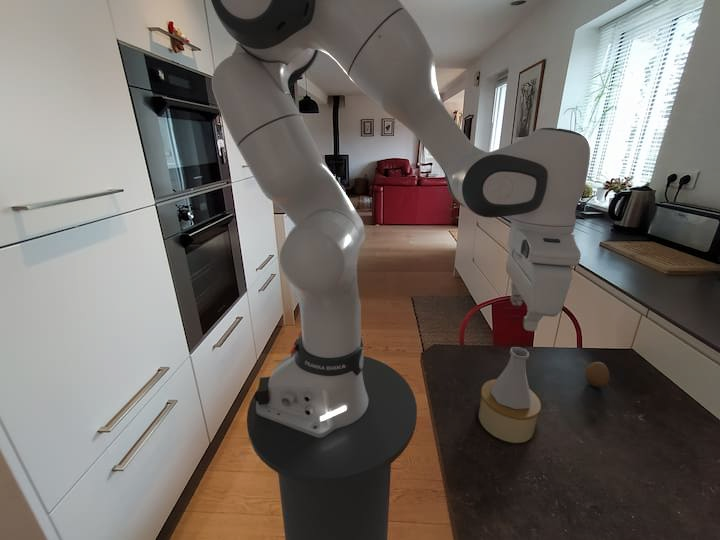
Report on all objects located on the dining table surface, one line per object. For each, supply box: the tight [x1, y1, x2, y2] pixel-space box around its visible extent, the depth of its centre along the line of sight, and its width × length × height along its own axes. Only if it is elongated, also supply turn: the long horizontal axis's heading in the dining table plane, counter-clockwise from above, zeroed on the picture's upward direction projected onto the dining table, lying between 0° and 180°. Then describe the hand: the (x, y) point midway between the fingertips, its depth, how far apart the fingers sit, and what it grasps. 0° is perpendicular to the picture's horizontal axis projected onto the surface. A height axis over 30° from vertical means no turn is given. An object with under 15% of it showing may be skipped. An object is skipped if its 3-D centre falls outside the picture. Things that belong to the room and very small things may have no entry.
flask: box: [491, 346, 531, 409], centre depth 60 cm, size 7×7×10 cm
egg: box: [584, 361, 610, 388], centre depth 73 cm, size 4×4×6 cm
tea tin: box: [478, 378, 542, 444], centre depth 63 cm, size 10×10×6 cm
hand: (521, 315), depth 57 cm, fingers open, 8 cm apart
